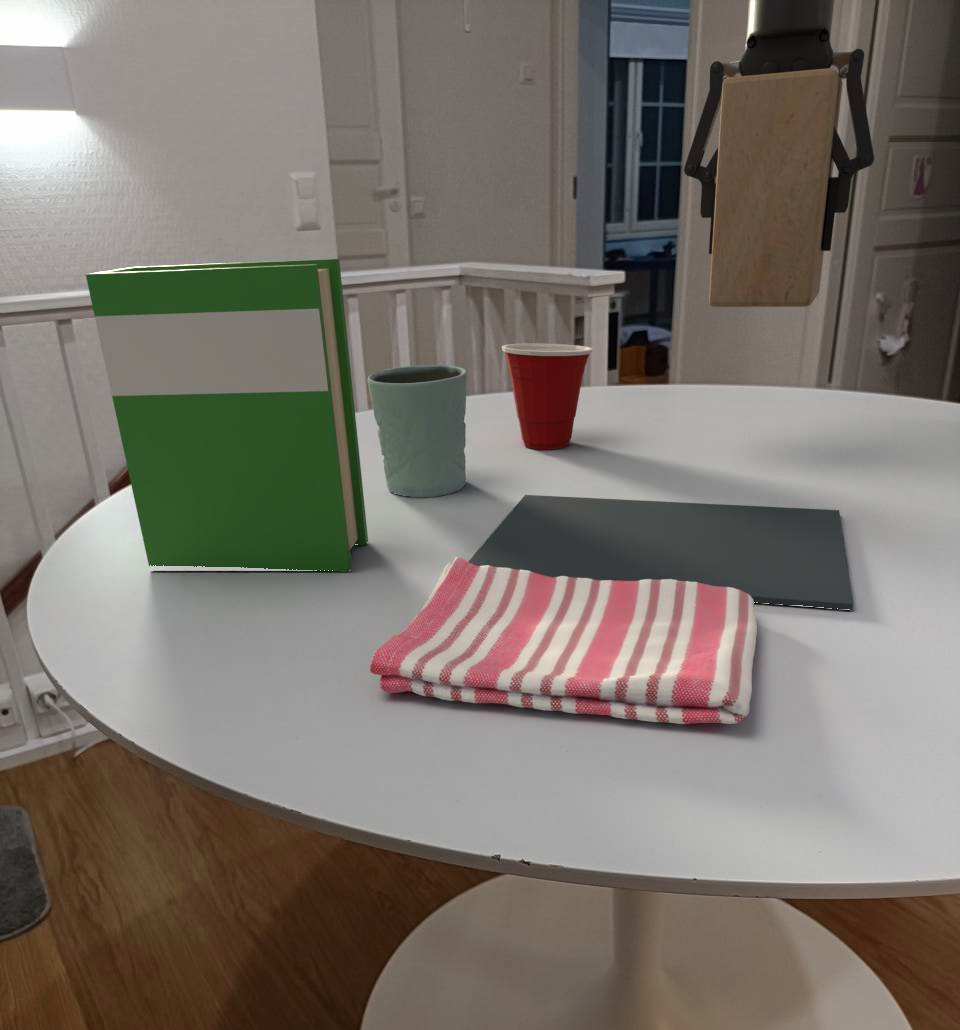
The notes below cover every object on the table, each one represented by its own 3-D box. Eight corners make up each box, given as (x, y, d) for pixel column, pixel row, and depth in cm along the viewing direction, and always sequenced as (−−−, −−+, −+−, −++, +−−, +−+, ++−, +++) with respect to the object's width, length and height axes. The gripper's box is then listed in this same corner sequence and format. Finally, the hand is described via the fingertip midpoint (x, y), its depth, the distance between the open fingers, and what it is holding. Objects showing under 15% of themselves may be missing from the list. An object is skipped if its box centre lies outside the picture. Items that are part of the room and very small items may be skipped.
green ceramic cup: (489, 480, 100) (485, 367, 94) (434, 505, 92) (426, 385, 87) (416, 469, 105) (408, 362, 100) (358, 492, 98) (346, 378, 92)
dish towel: (447, 594, 71) (445, 552, 70) (756, 615, 65) (760, 570, 64) (366, 700, 57) (360, 650, 55) (754, 740, 51) (760, 685, 49)
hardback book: (368, 541, 83) (339, 258, 73) (348, 572, 77) (313, 265, 66) (184, 542, 85) (130, 267, 75) (150, 571, 79) (85, 274, 68)
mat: (838, 516, 84) (839, 509, 84) (852, 611, 65) (853, 604, 65) (525, 500, 93) (525, 494, 92) (457, 580, 74) (457, 574, 74)
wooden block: (723, 297, 101) (737, 86, 92) (818, 296, 97) (843, 77, 88) (707, 307, 92) (721, 77, 84) (811, 307, 89) (837, 66, 80)
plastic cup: (609, 442, 113) (612, 341, 107) (548, 460, 106) (548, 353, 101) (547, 429, 120) (546, 334, 115) (486, 445, 114) (482, 346, 108)
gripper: (924, -20, 83) (887, 246, 92) (671, 8, 89) (661, 252, 99) (934, -36, 76) (893, 250, 86) (660, -6, 83) (650, 257, 93)
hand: (769, 251), depth 93 cm, fingers closed on wooden block, 10 cm apart
